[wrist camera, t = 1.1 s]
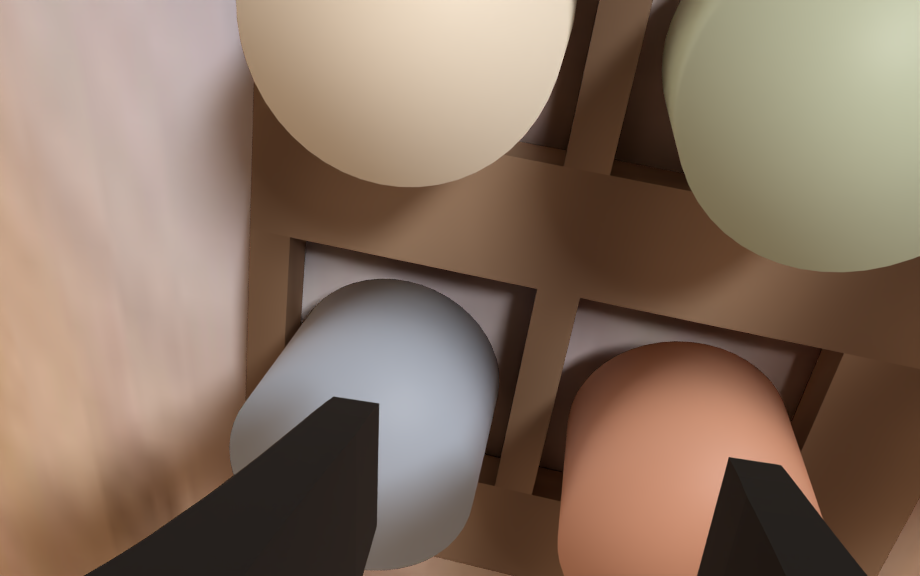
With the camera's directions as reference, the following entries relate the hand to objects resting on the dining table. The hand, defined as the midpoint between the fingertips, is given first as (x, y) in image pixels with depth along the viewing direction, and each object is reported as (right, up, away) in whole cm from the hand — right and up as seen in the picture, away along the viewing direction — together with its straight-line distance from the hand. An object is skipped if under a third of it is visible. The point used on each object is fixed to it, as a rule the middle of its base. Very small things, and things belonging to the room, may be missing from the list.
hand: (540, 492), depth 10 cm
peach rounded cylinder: (+4, -1, +9) cm, 10 cm away
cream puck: (-1, +8, +6) cm, 10 cm away
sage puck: (+6, +7, +5) cm, 10 cm away
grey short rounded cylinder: (-3, +1, +10) cm, 10 cm away
